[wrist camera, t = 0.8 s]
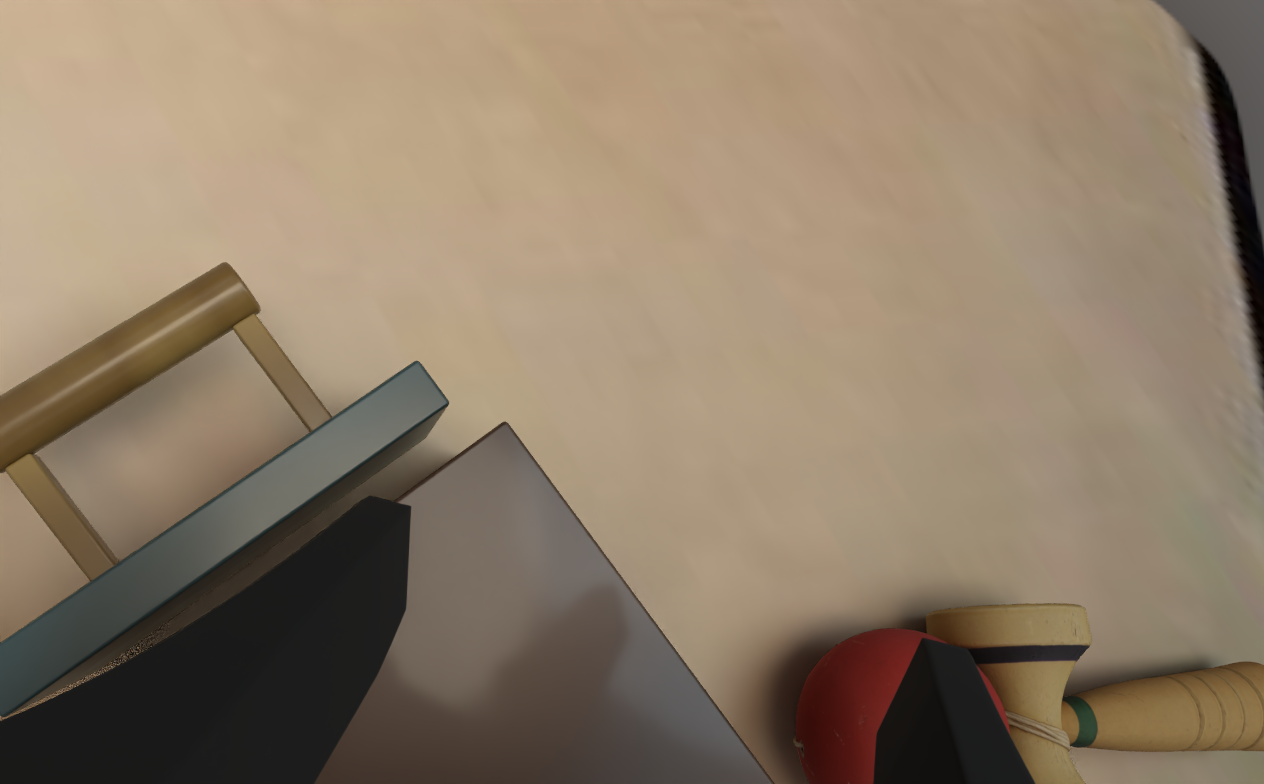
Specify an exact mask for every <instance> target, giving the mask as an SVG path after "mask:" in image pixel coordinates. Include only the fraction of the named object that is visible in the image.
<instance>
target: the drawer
mask: <svg viewBox="0 0 1264 784" xmlns="http://www.w3.org/2000/svg"><path fill="white" fill-rule="evenodd" d="M260 311H261V309H260V306H259V304H258V302H257V301H256V299H255V298H254V296H253V295H252V293H251V292H250V290H249V289H248V288H247V286H246V285H245V283H244V282H243V281H242V279H241V278H240V277H239V275H238V274H237V273H236V272H235V270H234V269H233V268H232V267H231V266H230V265H229V264H228V263H226V262H224V263H221V264H220V265H218V266H216V267H215V268H213V269H211V270H210V271H208V272H206V273H205V274H203V275H201V276H200V277H198V278H196V279H195V280H193V281H191V282H190V283H188V284H186V285H185V286H183V287H181V288H179V289H178V290H176V291H174V292H173V293H171V294H169V295H168V296H166V297H164V298H163V299H161V300H159V301H158V302H156V303H154V304H153V305H151V306H149V307H148V308H146V309H144V310H143V311H141V312H139V313H138V314H136V315H134V316H133V317H131V318H129V319H128V320H126V321H124V322H123V323H121V324H119V325H118V326H116V327H114V328H113V329H111V330H109V331H108V332H106V333H104V334H103V335H101V336H99V337H98V338H96V339H94V340H93V341H91V342H89V343H88V344H86V345H84V346H83V347H81V348H79V349H78V350H76V351H74V352H73V353H71V354H69V355H68V356H66V357H64V358H63V359H61V360H59V361H58V362H56V363H54V364H53V365H51V366H49V367H47V368H46V369H44V370H42V371H41V372H39V373H37V374H36V375H34V376H32V377H31V378H29V379H27V380H26V381H24V382H22V383H21V384H19V385H17V386H16V387H14V388H12V389H11V390H9V391H7V392H6V393H4V394H2V395H1V396H0V473H3V472H5V471H6V472H7V474H8V475H9V476H10V478H11V479H12V480H13V482H14V483H15V484H16V485H17V487H18V488H19V489H20V491H21V492H22V493H23V494H24V496H25V497H26V498H27V500H28V501H29V502H30V504H31V505H32V506H33V507H34V509H35V510H36V511H37V513H38V514H39V515H40V517H41V518H42V519H43V520H44V522H45V523H46V524H47V526H48V527H49V528H50V530H51V531H52V532H53V533H54V535H55V536H56V537H57V539H58V540H59V541H60V543H61V544H62V545H63V546H64V548H65V549H66V550H67V552H68V553H69V554H70V556H71V557H72V558H73V559H74V561H75V562H76V563H77V565H78V566H79V567H80V569H81V570H82V571H83V572H84V574H85V575H86V576H87V578H88V579H89V580H90V582H89V583H88V584H86V585H85V586H83V587H82V588H80V589H79V590H77V591H76V592H74V593H73V594H71V595H70V596H68V597H67V598H65V599H64V600H63V601H61V602H60V603H58V604H57V605H55V606H54V607H52V608H51V609H49V610H48V611H46V612H45V613H43V614H42V615H40V616H39V617H37V618H36V619H35V620H33V621H32V622H30V623H29V624H27V625H26V626H24V627H23V628H21V629H20V630H18V631H17V632H15V633H14V634H12V635H11V636H9V637H8V638H7V639H5V640H4V641H2V642H1V643H0V716H2V717H6V716H9V715H11V714H13V713H15V712H17V711H19V710H21V709H22V708H24V707H26V706H28V705H30V704H32V703H34V702H36V701H38V700H40V699H42V698H44V697H46V696H48V695H50V694H52V693H54V692H56V691H58V690H60V689H62V688H64V687H66V686H68V685H70V684H72V683H74V682H76V681H78V680H80V679H82V678H84V677H86V676H88V675H90V674H92V673H94V672H96V671H98V670H100V669H102V668H103V667H104V666H106V665H107V664H109V663H110V662H111V661H113V660H114V659H116V658H117V657H118V656H120V655H121V654H123V653H124V652H126V651H127V650H128V649H130V648H131V647H133V646H134V645H135V644H137V643H138V642H140V641H141V640H142V639H144V638H145V637H147V636H148V635H149V634H151V633H152V632H154V631H155V630H156V629H158V628H159V627H161V626H162V625H163V624H165V623H166V622H168V621H169V620H171V619H172V618H173V617H175V616H176V615H178V614H179V613H180V612H182V611H183V610H185V609H186V608H187V607H189V606H190V605H192V604H193V603H194V602H196V601H197V600H199V599H200V598H201V597H203V596H204V595H206V594H207V593H208V592H210V591H211V590H213V589H214V588H216V587H217V586H218V585H220V584H221V583H223V582H224V581H225V580H227V579H228V578H230V577H231V576H232V575H234V574H235V573H237V572H238V571H239V570H241V569H242V568H244V567H245V566H246V565H248V564H249V563H251V562H252V561H253V560H255V559H256V558H258V557H259V556H261V555H262V554H263V553H265V552H266V551H268V550H269V549H270V548H272V547H273V546H275V545H276V544H277V543H279V542H280V541H282V540H283V539H284V538H286V537H287V536H289V535H290V534H291V533H293V532H294V531H296V530H297V529H298V528H300V527H301V526H303V525H304V524H306V523H307V522H308V521H310V520H311V519H313V518H314V517H315V516H317V515H318V514H320V513H321V512H322V511H324V510H325V509H327V508H328V507H329V506H331V505H332V504H334V503H335V502H336V501H338V500H339V499H341V498H342V497H343V496H345V495H346V494H348V493H349V492H351V491H352V490H353V489H355V488H356V487H358V486H359V485H360V484H362V483H363V482H365V481H366V480H367V479H369V478H370V477H372V476H373V475H374V474H376V473H377V472H379V471H380V470H381V469H383V468H384V467H386V466H387V465H388V464H390V463H391V462H393V461H394V460H396V459H397V458H398V457H400V456H401V455H403V454H404V453H405V452H407V451H408V450H410V449H411V448H412V447H414V446H415V445H417V444H418V443H419V442H421V441H422V440H424V439H425V438H426V437H427V435H428V434H429V432H430V431H431V429H432V428H433V427H434V425H435V424H436V422H437V421H438V419H439V418H440V416H441V415H442V413H443V412H444V410H445V409H446V407H447V406H448V404H449V401H448V399H447V398H446V397H445V395H444V394H443V393H442V391H441V390H440V389H439V387H438V386H437V384H436V383H435V382H434V380H433V379H432V378H431V376H430V375H429V374H428V372H427V371H426V370H425V368H424V367H423V366H422V364H421V363H420V362H419V361H414V362H413V363H411V364H410V365H409V366H407V367H406V368H404V369H403V370H401V371H400V372H398V373H397V374H395V375H394V376H392V377H391V378H389V379H388V380H386V381H385V382H383V383H382V384H381V385H379V386H378V387H376V388H375V389H373V390H372V391H370V392H369V393H367V394H366V395H364V396H363V397H361V398H360V399H358V400H357V401H356V402H354V403H353V404H351V405H350V406H348V407H347V408H345V409H344V410H342V411H341V412H339V413H338V414H336V415H335V416H333V417H332V416H331V415H330V413H329V412H328V411H327V409H326V408H325V407H324V405H323V404H322V403H321V401H320V400H319V399H318V397H317V396H316V395H315V393H314V392H313V391H312V389H311V388H310V387H309V385H308V384H307V383H306V381H305V380H304V379H303V377H302V376H301V375H300V373H299V372H298V371H297V369H296V368H295V367H294V365H293V364H292V363H291V361H290V360H289V359H288V357H287V356H286V355H285V353H284V352H283V351H282V349H281V348H280V347H279V345H278V344H277V343H276V341H275V340H274V339H273V337H272V336H271V335H270V333H269V332H268V331H267V329H266V328H265V327H264V325H263V324H262V323H261V321H260V320H259V319H258V317H257V316H256V315H257V314H259V313H260ZM231 330H234V332H235V333H236V335H237V336H238V337H239V339H240V340H241V341H242V343H243V344H244V345H245V347H246V348H247V349H248V351H249V352H250V353H251V355H252V356H253V357H254V359H255V360H256V361H257V363H258V364H259V365H260V367H261V368H262V369H263V371H264V372H265V373H266V375H267V376H268V377H269V379H270V380H271V381H272V383H273V384H274V385H275V387H276V388H277V389H278V391H279V392H280V393H281V395H282V396H283V397H284V399H285V400H286V401H287V403H288V404H289V405H290V407H291V408H292V409H293V411H294V412H295V413H296V415H297V416H298V417H299V419H300V420H301V421H302V423H303V424H304V425H305V427H306V428H307V429H308V431H309V432H310V433H308V434H307V435H305V436H304V437H302V438H301V439H300V440H298V441H297V442H295V443H294V444H292V445H291V446H289V447H288V448H286V449H285V450H283V451H282V452H280V453H279V454H277V455H276V456H275V457H273V458H272V459H270V460H269V461H267V462H266V463H264V464H263V465H261V466H260V467H258V468H257V469H255V470H254V471H252V472H251V473H249V474H248V475H247V476H245V477H244V478H242V479H241V480H239V481H238V482H236V483H235V484H233V485H232V486H230V487H229V488H227V489H226V490H224V491H223V492H222V493H220V494H219V495H217V496H216V497H214V498H213V499H211V500H210V501H208V502H207V503H205V504H204V505H202V506H201V507H199V508H198V509H196V510H195V511H194V512H192V513H191V514H189V515H188V516H186V517H185V518H183V519H182V520H180V521H179V522H177V523H176V524H174V525H173V526H171V527H170V528H169V529H167V530H166V531H164V532H163V533H161V534H160V535H158V536H157V537H155V538H154V539H152V540H151V541H149V542H148V543H146V544H145V545H143V546H142V547H141V548H139V549H138V550H136V551H135V552H133V553H132V554H130V555H129V556H127V557H126V558H124V559H123V560H121V561H120V562H119V560H118V559H117V558H116V557H115V555H114V554H113V553H112V551H111V550H110V549H109V547H108V546H107V545H106V543H105V542H104V541H103V540H102V538H101V537H100V536H99V534H98V533H97V532H96V530H95V529H94V528H93V527H92V525H91V524H90V523H89V521H88V520H87V519H86V517H85V516H84V515H83V514H82V512H81V511H80V510H79V508H78V507H77V506H76V504H75V503H74V502H73V500H72V499H71V498H70V497H69V495H68V494H67V493H66V491H65V490H64V489H63V487H62V486H61V485H60V484H59V482H58V481H57V480H56V478H55V477H54V476H53V474H52V473H51V472H50V470H49V469H48V468H47V467H46V465H45V464H44V463H43V461H42V460H41V459H40V457H39V456H37V455H34V453H36V452H37V451H39V450H41V449H42V448H44V447H45V446H47V445H49V444H50V443H52V442H54V441H55V440H57V439H58V438H60V437H62V436H63V435H65V434H66V433H68V432H70V431H71V430H73V429H74V428H76V427H78V426H79V425H81V424H82V423H84V422H86V421H87V420H89V419H90V418H92V417H94V416H95V415H97V414H98V413H100V412H102V411H103V410H105V409H106V408H108V407H110V406H111V405H113V404H114V403H116V402H118V401H119V400H121V399H122V398H124V397H126V396H127V395H129V394H130V393H132V392H134V391H135V390H137V389H138V388H140V387H142V386H143V385H145V384H146V383H148V382H150V381H151V380H153V379H154V378H156V377H158V376H159V375H161V374H162V373H164V372H166V371H167V370H169V369H170V368H172V367H174V366H175V365H177V364H178V363H180V362H182V361H183V360H185V359H186V358H188V357H190V356H191V355H193V354H194V353H196V352H198V351H199V350H201V349H202V348H204V347H206V346H207V345H209V344H210V343H212V342H214V341H215V340H217V339H218V338H220V337H222V336H223V335H225V334H227V333H228V332H230V331H231Z"/></svg>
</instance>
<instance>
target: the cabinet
mask: <svg viewBox="0 0 1264 784" xmlns="http://www.w3.org/2000/svg"><path fill="white" fill-rule="evenodd" d="M393 502H397V503H401V504H405V505H409V506H411V522H410V543H409V564H408V584H407V605H406V611H405V613H404V616H403V618H402V620H401V623H400V625H399V627H398V630H397V632H396V635H395V637H394V639H393V642H392V644H391V646H390V648H389V651H388V653H387V655H386V657H385V660H384V662H383V664H382V666H381V669H380V671H379V673H378V675H377V677H376V678H375V680H374V682H373V684H372V685H371V687H370V689H369V691H368V692H367V694H366V696H365V698H364V699H363V701H362V703H361V704H360V706H359V708H358V710H357V711H356V713H355V715H354V717H353V718H352V720H351V722H350V723H349V725H348V727H347V729H346V730H345V732H344V734H343V735H342V737H341V739H340V740H339V742H338V744H337V746H336V747H335V749H334V751H333V752H332V754H331V756H330V757H329V759H328V761H327V763H326V764H325V766H324V768H323V769H322V771H321V773H320V774H319V776H318V778H317V780H316V781H315V783H314V784H774V782H773V781H772V780H771V778H770V777H769V776H768V774H767V773H766V772H765V770H764V769H763V768H762V766H761V765H760V763H759V762H758V761H757V759H756V758H755V757H754V755H753V754H752V753H751V751H750V750H749V749H748V747H747V746H746V744H745V743H744V742H743V740H742V739H741V738H740V736H739V735H738V734H737V732H736V731H735V730H734V728H733V727H732V726H731V724H730V723H729V721H728V720H727V719H726V717H725V716H724V715H723V713H722V712H721V711H720V709H719V708H718V707H717V705H716V704H715V703H714V701H713V700H712V698H711V697H710V696H709V694H708V693H707V692H706V690H705V689H704V688H703V686H702V685H701V684H700V682H699V681H698V680H697V678H696V677H695V675H694V674H693V673H692V671H691V670H690V669H689V667H688V666H687V665H686V663H685V662H684V661H683V659H682V658H681V657H680V655H679V654H678V652H677V651H676V650H675V648H674V647H673V646H672V644H671V643H670V642H669V640H668V639H667V638H666V636H665V635H664V634H663V632H662V631H661V629H660V628H659V627H658V625H657V624H656V623H655V621H654V620H653V619H652V617H651V616H650V615H649V613H648V612H647V611H646V609H645V608H644V606H643V605H642V604H641V602H640V601H639V600H638V598H637V597H636V596H635V594H634V593H633V592H632V590H631V589H630V588H629V586H628V585H627V583H626V582H625V581H624V579H623V578H622V577H621V575H620V574H619V573H618V571H617V570H616V569H615V567H614V566H613V565H612V563H611V562H610V560H609V559H608V558H607V556H606V555H605V554H604V552H603V551H602V550H601V548H600V547H599V546H598V544H597V543H596V541H595V540H594V539H593V537H592V536H591V535H590V533H589V532H588V531H587V529H586V528H585V527H584V525H583V524H582V523H581V521H580V520H579V518H578V517H577V516H576V514H575V513H574V512H573V510H572V509H571V508H570V506H569V505H568V504H567V502H566V501H565V500H564V498H563V497H562V495H561V494H560V493H559V491H558V490H557V489H556V487H555V486H554V485H553V483H552V482H551V481H550V479H549V478H548V477H547V475H546V474H545V472H544V471H543V470H542V468H541V467H540V466H539V464H538V463H537V462H536V460H535V459H534V458H533V456H532V455H531V454H530V452H529V451H528V449H527V448H526V447H525V445H524V444H523V443H522V441H521V440H520V439H519V437H518V436H517V435H516V433H515V432H514V431H513V429H512V428H511V426H510V425H509V424H508V423H507V422H502V423H501V424H499V425H498V426H497V427H495V428H494V429H493V430H491V431H490V432H488V433H487V434H486V435H484V436H483V437H482V438H480V439H479V440H477V441H476V442H475V443H473V444H472V445H471V446H469V447H468V448H466V449H465V450H464V451H462V452H461V453H460V454H458V455H457V456H455V457H454V458H453V459H451V460H450V461H449V462H447V463H446V464H444V465H443V466H442V467H440V468H439V469H437V470H436V471H435V472H433V473H432V474H431V475H429V476H428V477H426V478H425V479H424V480H422V481H421V482H420V483H418V484H417V485H415V486H414V487H413V488H411V489H410V490H409V491H407V492H406V493H404V494H403V495H402V496H400V497H399V498H398V499H396V500H395V501H393Z"/></svg>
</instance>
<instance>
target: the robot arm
mask: <svg viewBox="0 0 1264 784" xmlns="http://www.w3.org/2000/svg"><path fill="white" fill-rule="evenodd" d="M410 522H411V506H409V505H405V504H401V503H397V502H393V501H389V500H385V499H381V498H378V497H374V496H368V497H366V498H365V499H363V500H361V501H360V502H359V503H358V504H356V505H355V506H354V507H353V508H351V509H350V510H349V511H347V512H346V513H345V514H344V515H342V516H341V517H340V518H339V519H337V520H336V521H335V522H334V523H332V524H331V525H330V526H329V527H327V528H326V529H325V530H323V531H322V532H321V533H320V534H318V535H317V536H316V537H314V538H313V539H312V540H310V541H309V542H308V543H307V544H305V545H304V546H303V547H301V548H300V549H299V550H297V551H296V552H295V553H293V554H292V555H291V556H289V557H288V558H287V559H285V560H284V561H282V562H281V563H280V564H278V565H277V566H275V567H274V568H273V569H271V570H270V571H269V572H267V573H266V574H264V575H263V576H262V577H260V578H259V579H258V580H256V581H255V582H253V583H252V584H251V585H249V586H248V587H246V588H245V589H243V590H242V591H240V592H239V593H237V594H236V595H234V596H233V597H231V598H230V599H228V600H227V601H225V602H224V603H222V604H221V605H219V606H217V607H216V608H214V609H213V610H211V611H210V612H208V613H207V614H205V615H204V616H202V617H201V618H199V619H198V620H196V621H195V622H193V623H191V624H190V625H188V626H187V627H185V628H183V629H182V630H180V631H178V632H177V633H175V634H173V635H172V636H170V637H168V638H167V639H165V640H163V641H162V642H160V643H158V644H156V645H155V646H153V647H151V648H149V649H148V650H146V651H144V652H142V653H140V654H139V655H137V656H135V657H133V658H131V659H129V660H128V661H126V662H124V663H122V664H120V665H118V666H117V667H115V668H113V669H111V670H109V671H107V672H105V673H103V674H101V675H99V676H97V677H95V678H93V679H91V680H89V681H87V682H85V683H83V684H81V685H79V686H77V687H75V688H73V689H71V690H69V691H67V692H65V693H63V694H61V695H58V696H56V697H54V698H52V699H50V700H48V701H46V702H44V703H42V704H39V705H37V706H35V707H33V708H30V709H28V710H26V711H24V712H21V713H19V714H16V715H14V716H11V717H9V718H7V719H4V720H2V721H0V784H314V783H315V781H316V780H317V778H318V776H319V774H320V773H321V771H322V769H323V768H324V766H325V764H326V763H327V761H328V759H329V757H330V756H331V754H332V752H333V751H334V749H335V747H336V746H337V744H338V742H339V740H340V739H341V737H342V735H343V734H344V732H345V730H346V729H347V727H348V725H349V723H350V722H351V720H352V718H353V717H354V715H355V713H356V711H357V710H358V708H359V706H360V704H361V703H362V701H363V699H364V698H365V696H366V694H367V692H368V691H369V689H370V687H371V685H372V684H373V682H374V680H375V678H376V677H377V675H378V673H379V671H380V669H381V666H382V664H383V662H384V660H385V657H386V655H387V653H388V651H389V648H390V646H391V644H392V642H393V639H394V637H395V635H396V632H397V630H398V627H399V625H400V623H401V620H402V618H403V616H404V613H405V611H406V605H407V584H408V564H409V543H410ZM873 784H1036V783H1035V782H1034V780H1033V778H1032V776H1031V774H1030V772H1029V770H1028V769H1027V767H1026V765H1025V763H1024V761H1023V759H1022V757H1021V755H1020V753H1019V751H1018V750H1017V748H1016V746H1015V744H1014V742H1013V740H1012V738H1011V736H1010V734H1009V732H1008V730H1007V728H1006V726H1005V724H1004V722H1003V720H1002V718H1001V716H1000V714H999V712H998V709H997V707H996V705H995V703H994V701H993V699H992V697H991V695H990V693H989V691H988V689H987V687H986V685H985V682H984V680H983V678H982V676H981V674H980V672H979V670H978V668H977V666H976V664H975V662H974V659H973V657H972V656H971V654H970V652H969V651H968V649H966V648H962V647H958V646H954V645H950V644H946V643H942V642H939V641H935V640H931V639H927V638H923V637H922V639H921V641H920V643H919V645H918V648H917V650H916V652H915V654H914V656H913V658H912V660H911V662H910V664H909V666H908V668H907V671H906V673H905V675H904V677H903V679H902V681H901V683H900V685H899V687H898V689H897V691H896V694H895V696H894V698H893V700H892V702H891V704H890V706H889V708H888V710H887V712H886V714H885V717H884V719H883V721H882V723H881V725H880V727H879V729H878V731H877V733H876V748H875V762H874V779H873Z"/></svg>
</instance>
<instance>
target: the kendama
mask: <svg viewBox="0 0 1264 784" xmlns="http://www.w3.org/2000/svg"><path fill="white" fill-rule="evenodd" d="M926 626H927V634H926V633H923V632H919V631H915V630H909V629H896V628H887V629H878V630H872V631H868V632H865V633H861V634H858V635H856V636H853V637H851V638H849V639H847V640H845V641H843V642H841V643H840V644H838V645H836V646H835V647H834V648H833V649H831V650H830V651H829V652H828V653H827V654H825V655H824V656H823V657H822V658H821V659H820V661H819V662H818V663H817V664H816V665H815V667H814V668H813V669H812V671H811V672H810V674H809V676H808V677H807V679H806V682H805V684H804V686H803V689H802V692H801V695H800V698H799V702H798V707H797V714H796V727H795V728H796V737H795V738H794V739H793V742H794V744H795V745H796V746H797V748H798V753H799V757H800V761H801V764H802V767H803V770H804V773H805V775H806V777H807V779H808V781H809V783H810V784H873V779H874V762H875V748H876V733H877V731H878V729H879V727H880V725H881V723H882V721H883V719H884V717H885V714H886V712H887V710H888V708H889V706H890V704H891V702H892V700H893V698H894V696H895V694H896V691H897V689H898V687H899V685H900V683H901V681H902V679H903V677H904V675H905V673H906V671H907V668H908V666H909V664H910V662H911V660H912V658H913V656H914V654H915V652H916V650H917V648H918V645H919V643H920V641H921V639H922V637H923V638H927V639H931V640H935V641H939V642H942V643H946V644H950V645H954V646H958V647H962V648H966V649H968V651H969V652H970V654H971V656H972V657H973V659H974V662H975V664H976V666H977V668H978V670H979V672H980V674H981V676H982V678H983V680H984V682H985V685H986V687H987V689H988V691H989V693H990V695H991V697H992V699H993V701H994V703H995V705H996V707H997V709H998V712H999V714H1000V716H1001V718H1002V720H1003V722H1004V724H1005V726H1006V728H1007V730H1008V732H1009V734H1010V736H1011V738H1012V740H1013V742H1014V744H1015V746H1016V748H1017V750H1018V751H1019V753H1020V755H1021V757H1022V759H1023V761H1024V763H1025V765H1026V767H1027V769H1028V770H1029V772H1030V774H1031V776H1032V778H1033V780H1034V782H1035V783H1036V784H1086V783H1085V782H1084V781H1083V779H1082V778H1081V776H1080V775H1079V773H1078V772H1077V770H1076V768H1075V766H1074V765H1073V763H1072V761H1071V758H1070V756H1069V753H1068V752H1069V751H1070V746H1073V747H1077V748H1078V747H1087V748H1097V749H1108V750H1119V751H1141V752H1172V751H1198V750H1199V751H1215V750H1242V751H1264V665H1262V664H1259V663H1255V662H1237V663H1232V664H1228V665H1224V666H1219V667H1214V668H1208V669H1203V670H1197V671H1192V672H1185V673H1179V674H1172V675H1164V676H1160V677H1151V678H1144V679H1137V680H1131V681H1126V682H1121V683H1116V684H1111V685H1107V686H1103V687H1099V688H1096V689H1092V690H1089V691H1085V692H1082V693H1078V694H1075V695H1071V696H1067V697H1063V693H1064V689H1065V686H1066V683H1067V680H1068V678H1069V675H1070V673H1071V671H1072V669H1073V667H1074V665H1075V664H1076V662H1077V660H1078V659H1079V658H1080V656H1081V655H1082V654H1083V653H1084V652H1085V651H1086V649H1088V648H1089V646H1090V645H1091V643H1092V638H1091V633H1090V629H1089V623H1088V618H1087V613H1086V610H1085V608H1084V607H1082V606H1080V605H1075V604H1055V603H1054V604H1049V603H1046V604H1012V605H986V606H972V607H964V608H962V607H960V608H949V609H944V610H938V611H933V612H931V613H929V614H928V615H927V616H926Z"/></svg>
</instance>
